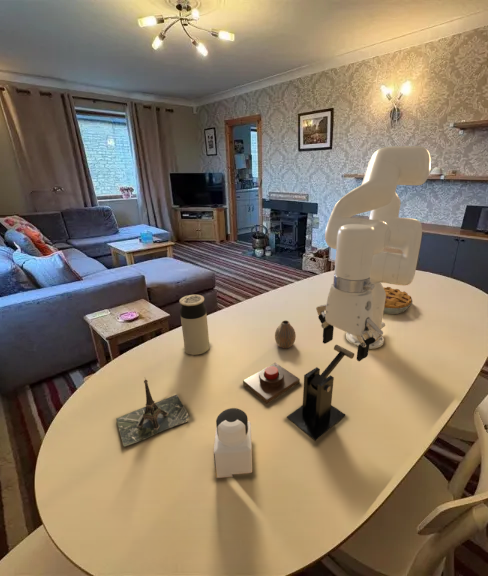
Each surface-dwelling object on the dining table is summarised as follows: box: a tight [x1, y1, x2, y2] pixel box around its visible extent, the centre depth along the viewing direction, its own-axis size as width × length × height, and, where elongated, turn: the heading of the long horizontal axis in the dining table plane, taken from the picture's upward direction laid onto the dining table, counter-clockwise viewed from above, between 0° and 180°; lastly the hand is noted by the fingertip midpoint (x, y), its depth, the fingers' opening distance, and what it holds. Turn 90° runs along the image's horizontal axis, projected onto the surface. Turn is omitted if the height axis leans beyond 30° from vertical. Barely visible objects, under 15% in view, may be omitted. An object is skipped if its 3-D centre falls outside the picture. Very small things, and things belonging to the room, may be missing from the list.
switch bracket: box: [286, 366, 346, 442], centre depth 71 cm, size 11×9×13 cm
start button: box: [264, 365, 278, 379], centre depth 83 cm, size 4×4×2 cm
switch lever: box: [310, 344, 355, 390], centre depth 72 cm, size 12×5×2 cm, turn 131°
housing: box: [242, 362, 301, 404], centre depth 84 cm, size 12×10×4 cm
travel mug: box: [178, 294, 210, 356], centre depth 98 cm, size 8×8×18 cm
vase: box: [274, 320, 297, 349], centre depth 102 cm, size 7×7×9 cm
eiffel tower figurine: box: [116, 378, 191, 447], centre depth 71 cm, size 15×10×13 cm
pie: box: [383, 286, 413, 315], centre depth 132 cm, size 22×22×5 cm
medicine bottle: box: [213, 407, 253, 479], centre depth 61 cm, size 7×7×12 cm
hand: (343, 349), depth 73 cm, fingers open, 9 cm apart
